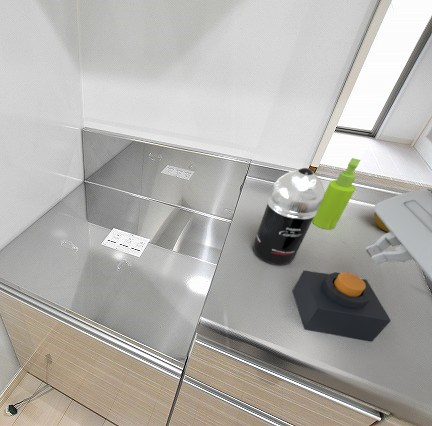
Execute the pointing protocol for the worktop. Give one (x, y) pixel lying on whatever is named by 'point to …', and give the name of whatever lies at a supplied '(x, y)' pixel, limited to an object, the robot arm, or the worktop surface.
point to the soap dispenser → (336, 198)
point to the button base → (338, 308)
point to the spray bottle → (288, 216)
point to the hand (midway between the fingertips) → (369, 255)
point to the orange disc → (349, 284)
